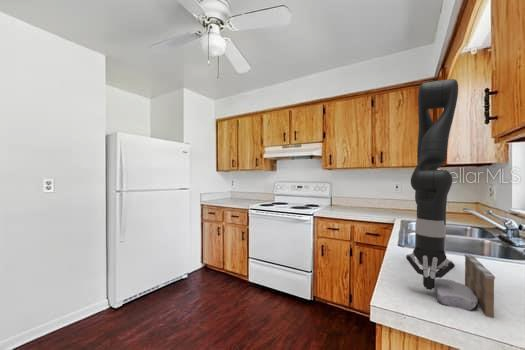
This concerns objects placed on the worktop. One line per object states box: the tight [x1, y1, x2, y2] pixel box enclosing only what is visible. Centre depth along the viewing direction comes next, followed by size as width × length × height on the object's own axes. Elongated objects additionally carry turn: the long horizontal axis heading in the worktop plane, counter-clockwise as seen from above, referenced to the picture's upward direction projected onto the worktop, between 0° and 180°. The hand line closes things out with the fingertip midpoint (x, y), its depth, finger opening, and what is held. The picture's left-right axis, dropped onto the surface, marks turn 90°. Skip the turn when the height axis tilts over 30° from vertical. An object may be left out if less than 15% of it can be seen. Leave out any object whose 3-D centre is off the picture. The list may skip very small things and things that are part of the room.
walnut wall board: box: [464, 253, 496, 319], centre depth 71 cm, size 20×2×11 cm, turn 152°
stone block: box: [434, 278, 478, 311], centre depth 71 cm, size 12×5×10 cm
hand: (428, 288), depth 74 cm, fingers closed
